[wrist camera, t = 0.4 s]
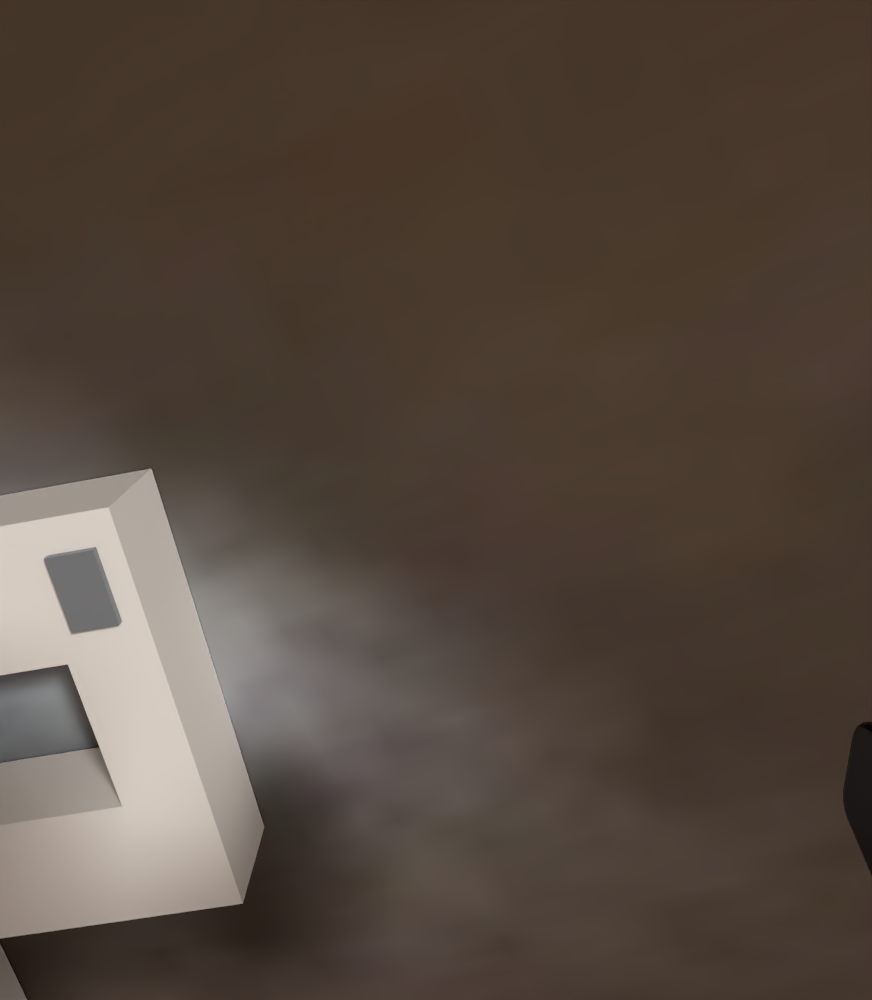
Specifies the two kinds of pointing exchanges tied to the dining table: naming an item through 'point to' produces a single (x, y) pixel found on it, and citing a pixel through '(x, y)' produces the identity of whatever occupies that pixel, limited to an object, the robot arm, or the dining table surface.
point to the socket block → (116, 720)
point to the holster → (9, 980)
